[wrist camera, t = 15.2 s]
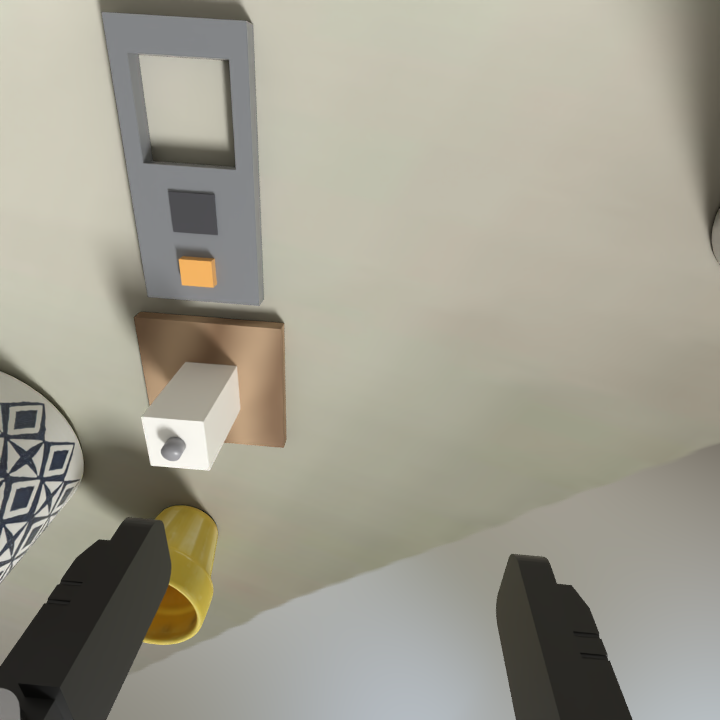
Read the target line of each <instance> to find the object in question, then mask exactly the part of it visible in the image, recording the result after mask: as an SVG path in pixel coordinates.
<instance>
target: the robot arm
mask: <svg viewBox="0 0 720 720" xmlns="http://www.w3.org/2000/svg"><path fill="white" fill-rule="evenodd" d="M712 246H713V252H714V255H715V257H716V259H717V261H718V263H719V264H720V208H719V210H718V212H717V215H716V218H715V221H714V225H713V229H712ZM170 576H171V559H170V553H169V548H168V543H167V538H166V533H165V527H164V524H163V522H162V521H161V520H153V519H143V518H132V517H128V518H126V519H125V520H124V521H123V522H122V523H121V525H120V526H119V528H118V529H117V531H116V532H115V534H114V535H113V537H112V538H111V540H98V541H96V542H95V543H94V544H93V545H91V546H90V547H89V548H88V549H86V550H85V551H84V552H83V553H82V554H80V555H79V556H78V557H77V558H76V559H75V560H74V562H73V563H72V565H71V566H70V568H69V569H68V570H67V572H66V573H65V575H64V576H63V578H62V579H61V583H60V584H59V585H57V586H56V588H55V589H54V590H53V592H52V593H51V595H50V596H49V598H48V601H47V603H46V604H45V603H44V605H43V606H42V608H41V609H40V610H39V612H38V613H37V615H36V616H35V618H34V619H33V620H32V622H31V623H30V625H29V626H28V628H27V629H26V630H25V632H24V633H23V635H22V636H21V638H20V639H19V640H18V642H17V643H16V645H15V646H14V648H13V649H12V650H11V652H10V653H9V655H8V656H7V658H6V659H5V660H4V662H3V663H2V665H1V666H0V720H106V719H107V717H108V715H109V713H110V711H111V708H112V706H113V704H114V702H115V700H116V698H117V696H118V693H119V691H120V689H121V687H122V684H123V683H124V681H125V678H126V676H127V674H128V672H129V670H130V668H131V666H132V664H133V661H134V659H135V657H136V655H137V653H138V651H139V649H140V646H141V644H142V642H143V640H144V638H145V636H146V634H147V631H148V629H149V627H150V625H151V623H152V621H153V619H154V617H155V614H156V612H157V610H158V608H159V606H160V604H161V602H162V599H163V597H164V595H165V593H166V591H167V588H168V585H169V581H170ZM496 617H497V625H498V631H499V635H500V641H501V645H502V651H503V656H504V661H505V666H506V671H507V676H508V682H509V687H510V692H511V697H512V702H513V707H514V712H515V716H516V720H632V717H631V715H630V712H629V710H628V707H627V704H626V702H625V699H624V696H623V694H622V691H621V689H620V686H619V684H618V681H617V678H616V676H615V673H614V671H613V668H612V665H611V663H610V661H608V658H607V652H606V650H605V647H604V645H603V642H602V640H601V639H600V638H599V632H598V629H597V627H596V624H595V621H594V619H593V616H592V614H591V611H590V608H589V607H588V606H587V604H586V603H585V602H584V601H583V599H582V598H581V597H580V596H579V594H578V593H577V592H576V590H575V589H574V588H573V587H572V585H563V584H557V583H556V580H555V577H554V574H553V571H552V568H551V565H550V563H549V561H548V559H547V558H545V557H540V556H529V555H518V554H511V555H510V557H509V559H508V562H507V566H506V569H505V573H504V576H503V579H502V582H501V586H500V589H499V592H498V596H497V603H496Z"/></svg>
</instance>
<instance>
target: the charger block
mask: <svg viewBox="0 0 720 720" xmlns="http://www.w3.org/2000/svg"><path fill="white" fill-rule="evenodd" d="M239 411H240V398H239V385H238V373H237V366H231V365H218V364H205V363H192V362H185V363H184V364H183V365H182V367H181V368H180V369H179V370H178V372H177V373H176V374H175V375H174V377H173V378H172V379H171V380H170V382H169V383H168V384H167V385H166V387H165V388H164V389H163V390H162V391H161V393H160V394H159V395H158V396H157V398H156V399H155V400H154V401H153V403H152V404H151V405H150V406H149V408H148V409H147V410H146V411H145V413H144V414H143V415H142V416H141V419H142V423H143V428H144V433H145V438H146V443H147V448H148V453H149V458H150V463H151V466H162V467H174V468H186V469H197V470H209V471H210V469H211V467H212V465H213V463H214V461H215V459H216V457H217V455H218V453H219V451H220V449H221V447H222V445H223V443H224V441H225V439H226V437H227V435H228V433H229V431H230V429H231V427H232V425H233V423H234V421H235V419H236V417H237V415H238V413H239Z"/></svg>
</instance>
